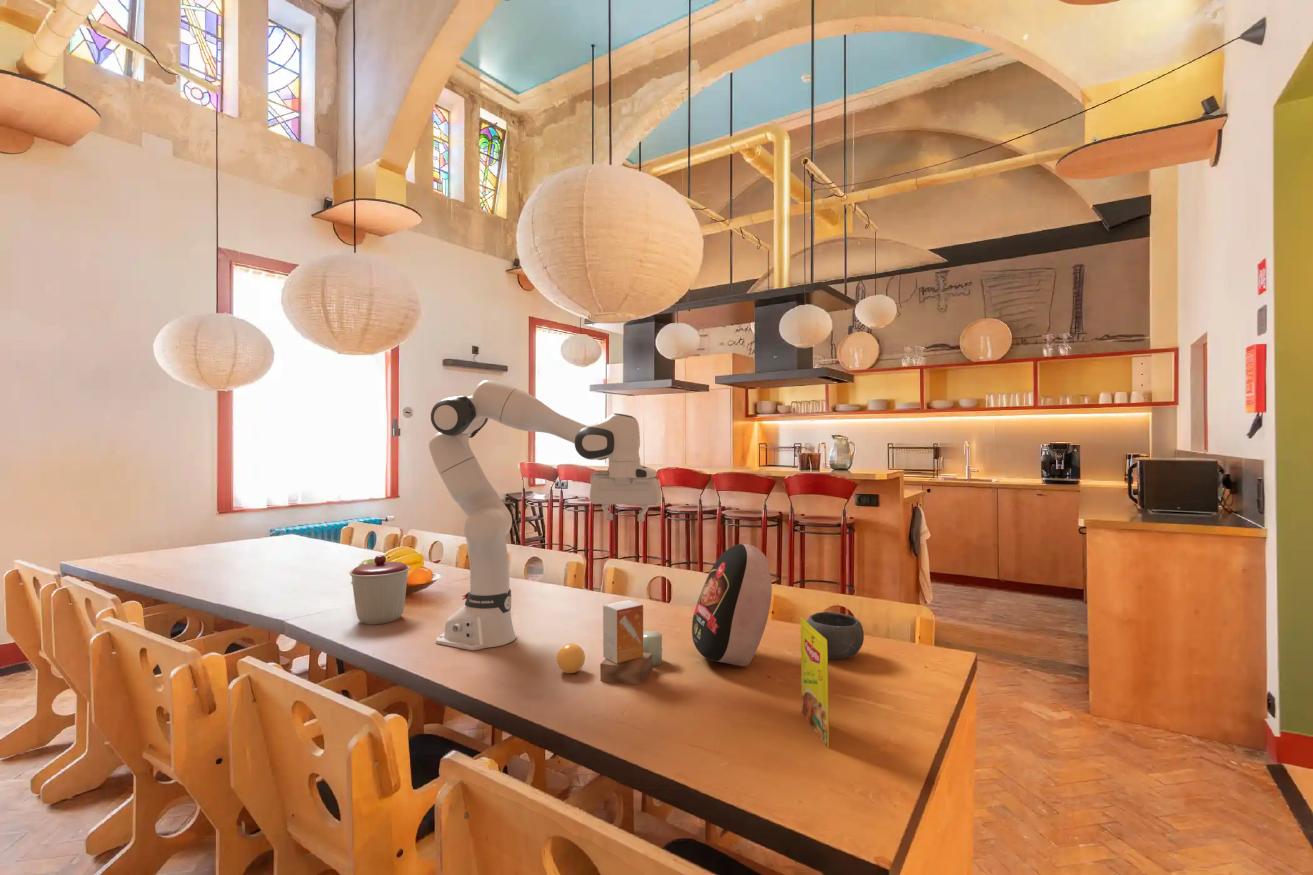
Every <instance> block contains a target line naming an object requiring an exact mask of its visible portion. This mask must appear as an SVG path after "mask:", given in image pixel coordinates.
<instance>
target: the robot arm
mask: <svg viewBox="0 0 1313 875" xmlns="http://www.w3.org/2000/svg"><path fill="white" fill-rule="evenodd" d="M431 409H432V410H431V411H430V421H431V425H432V426H433V428H434V429H435V430H436V431H437V432H436V434H434V435H433V436H432V437H431V439H430V440H429V443H428V449H429V452H430V455H431V458H432V461H433V463H434V465H435V467H436V468H435V469H436V470H437V471H438V474H439V476H440V478H441V479H442V481H443V483H444V486H445V487H446V489H447V490H448V492H449V494H450V496H451V498H452V500H453V501H454V502H456V503H457V505H458V506H459V507H460V508H461V509H462V511H463V512H464V513H465V515H466V516H467V519H466V521H465V524H464V527H463V528H464V529H463V531H464V537H465V542H466V548H467V554H468V562H469V573H470V574H469V581H470V582H469V585H470V586H469V587H470V588H469V589H470V591H468V592H467V593H465V594H464V595H461V597H462V598H461V600H462V601H464V600H465V603H464V605H462V606H461V607H460V608H459V609H458V610H457V611H455V612H454V613H453V614H452V615H450V616H449V617H448V618H447V620H446V622H445V626H444V632H443V633H442V634H439V636H437V637H436V639H435V640H436V641H435V644H438V645H443V646H449V647H454V648H458V649H463V650H464V649H465V650H467V651H468V650H469V651H477V650H481V649H485V648H494V647H495V648H496V647H499V646H500V647H501V646H504V645H507V644H509V643H511V642H513V641H515V639H516V638H517V636H516V633H515V629H514V625H513V620H512V619H513V618H512V613H511V612H512V611H511V608H512V590H511V588H510V585H511V583H510V582H511V581H510V560H509V556H508V549H507V535H508V534H509V533H510V531H511V529H512V526H513V517H512V513H511V511H509V509H508V508H507V506H506V505H505V503H504V501H503V500H502V498H501V497H500V496H499V494H498V492H497V491H496V489H495V488H494V487H493V485H492V484H491V483H490V481H489V480H488V478H487V476H486V474H485V472H484V470H483V469H482V466H481V465H480V463H479V461H478V458H476V456H475V453H474V452H473V450H472V448H471V446H470V442H469V439H471V438H472V439H473V438H474V437H475V436H476V435H477V433H479V431H480V430H482V428H484V426H485V425H486V424H487V422H488V421H489V419H490V420H493V421H496V422H498V423H500V424H502V425H504V426H506V427H510V428H512V429H514V430H520V431H524V432H535V433H545V434H550V435H553V436H556V437H558V438H560V439H563V440H565V441H568V442H569V443H572V444H573V445H574V448H575V451H576V453H577V454H578V455H579V456H581V457H583V458H584V459H586V460H593V461H596V460H597V461H604V460H606V459H608V470H604V471H600V470H596V471H594V472H592V473H591V474H590V477H589V482H590V490H589V491H590V492H589V502H591V504H592V505H601V509H602V511H603V512H604V513H603V514H605V521H613V518H614V517H613V516H614V514H613V513H610V511H609V509H608V508H609V507H610V505H627V506H628V505H632V506H633V505H634V506H635V505H636V506H637V505H638V506H640V508H641V509H642V511H641V512H640V513H639V514H637V521H638V522H644V521H645V515H646V513H647V512H648V509H649V506H656V505H659V504H660V502H661V501H662V500H661V499H662V496H661V488H660V487H661V485H660V481H659V480H658V479H657V478H656V477H657V474H658V472H657V470H656V469H654V468H651V467H648V466H645V465H642V464H641V458H640V453H639V452H640V451H639V450H640V446H641V435H640V427H639V421H638V420H637V419H636V418H635V417H634V416H632V415H629V414H623V413H618V412H617V413H611V414H610V415H609V416H608V417H607V418H605V419H603V420H601V421H599V422H596V423H594V424H590V425H586V424H584V423H580V422H578V421H575V420H574V419H572V418H569V417H566V416H564V415H563V414H560V413H558V412H557V411H555V410H554V409H552V408H550V407H549V406H547V405H546V404H545V403H544V402H542V401H541V400H539V399H538V398H536V397H534V396H533V395H532V394H530V393H528V392H526V391H525V390H522V389H520V388H518V387H516V386H512V385H510V384H508V383H504V382H501V381H497V380H492V379H484V380H482V381H481V382H480V383H478V384H477V385H476V387H475V388H474V390H473V392H472V394H471V395H456V396H450V397H446V398H443V399H442V400H439V401H438V402H437V403H435V405H434V406H433V407H432V408H431Z"/></svg>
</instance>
